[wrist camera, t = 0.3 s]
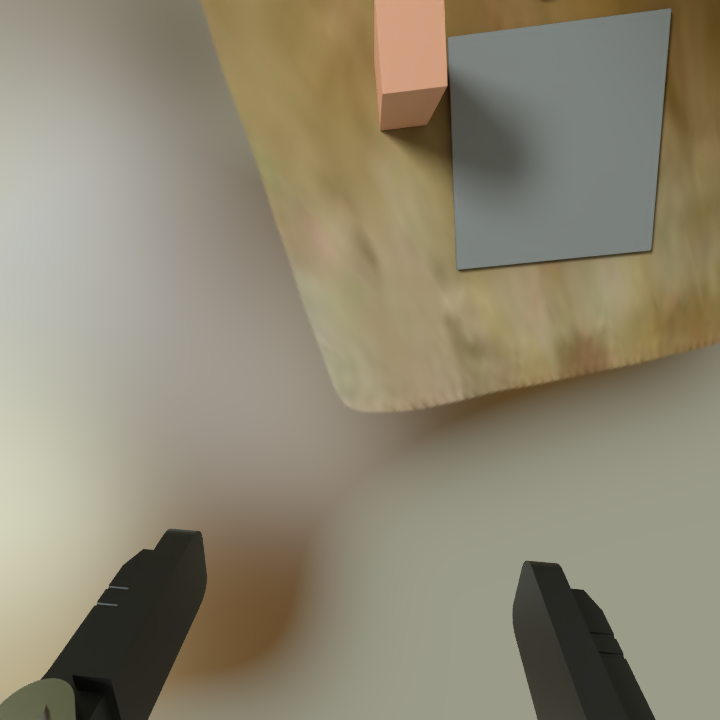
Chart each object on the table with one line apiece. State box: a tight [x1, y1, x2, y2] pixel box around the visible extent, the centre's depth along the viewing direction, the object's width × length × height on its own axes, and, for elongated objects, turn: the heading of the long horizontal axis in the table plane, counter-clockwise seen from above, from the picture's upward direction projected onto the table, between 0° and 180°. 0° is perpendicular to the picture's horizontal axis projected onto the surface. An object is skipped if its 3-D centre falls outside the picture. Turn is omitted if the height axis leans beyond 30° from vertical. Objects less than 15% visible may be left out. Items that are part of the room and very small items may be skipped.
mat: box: [448, 8, 671, 270], centre depth 33 cm, size 16×15×1 cm
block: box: [374, 0, 447, 131], centre depth 28 cm, size 4×4×10 cm
